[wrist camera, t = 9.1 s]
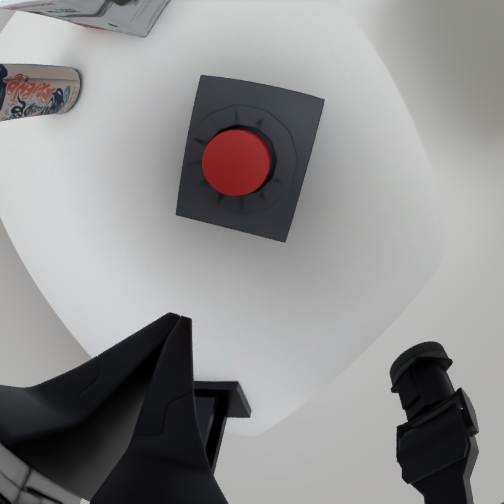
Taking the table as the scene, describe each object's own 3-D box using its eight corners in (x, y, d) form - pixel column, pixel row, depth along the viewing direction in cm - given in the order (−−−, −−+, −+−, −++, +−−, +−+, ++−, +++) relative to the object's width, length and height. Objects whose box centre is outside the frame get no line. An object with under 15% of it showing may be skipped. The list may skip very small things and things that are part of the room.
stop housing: (211, 81, 17) (191, 69, 13) (320, 103, 17) (329, 95, 13) (188, 204, 21) (165, 223, 17) (285, 229, 21) (284, 254, 17)
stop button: (217, 124, 15) (208, 124, 13) (277, 137, 14) (276, 138, 13) (205, 182, 16) (196, 188, 15) (263, 195, 16) (260, 203, 15)
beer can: (60, 123, 19) (-40, 145, 8) (47, 90, 18) (-47, 101, 7) (89, 91, 18) (-20, 95, 7) (74, 58, 16) (-25, 52, 5)
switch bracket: (186, 408, 35) (163, 474, 24) (166, 379, 32) (134, 452, 21) (251, 410, 33) (237, 486, 22) (238, 381, 30) (218, 468, 19)
